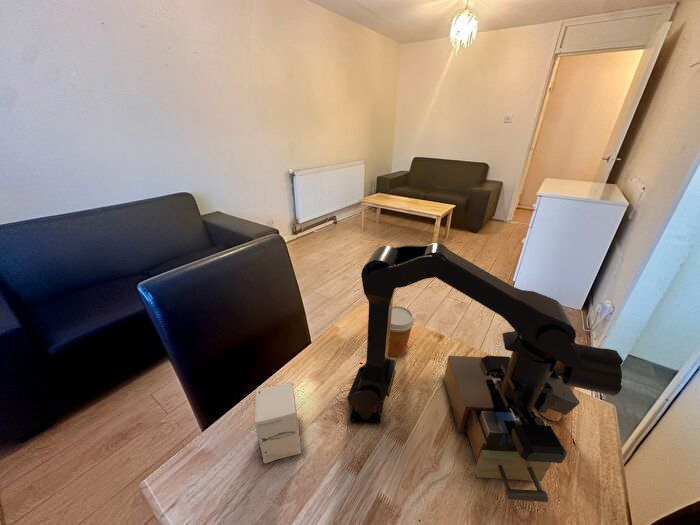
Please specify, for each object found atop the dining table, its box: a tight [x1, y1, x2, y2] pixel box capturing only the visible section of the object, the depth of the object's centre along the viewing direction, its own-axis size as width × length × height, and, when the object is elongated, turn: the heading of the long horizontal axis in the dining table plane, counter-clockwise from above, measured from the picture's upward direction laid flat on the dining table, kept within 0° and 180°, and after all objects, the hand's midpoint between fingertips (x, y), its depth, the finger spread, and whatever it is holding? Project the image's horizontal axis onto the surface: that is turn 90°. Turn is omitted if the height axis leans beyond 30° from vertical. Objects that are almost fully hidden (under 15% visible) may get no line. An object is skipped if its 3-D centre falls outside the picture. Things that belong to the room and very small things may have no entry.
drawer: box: [465, 409, 552, 503], centre depth 53 cm, size 17×11×6 cm, turn 177°
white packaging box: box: [254, 381, 302, 464], centre depth 55 cm, size 7×7×13 cm
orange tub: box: [388, 305, 416, 357], centre depth 79 cm, size 10×10×12 cm
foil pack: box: [479, 411, 517, 446], centre depth 53 cm, size 8×4×4 cm, turn 87°
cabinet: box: [443, 355, 512, 433], centre depth 64 cm, size 14×13×8 cm
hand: (504, 430), depth 53 cm, fingers closed on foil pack, 4 cm apart
